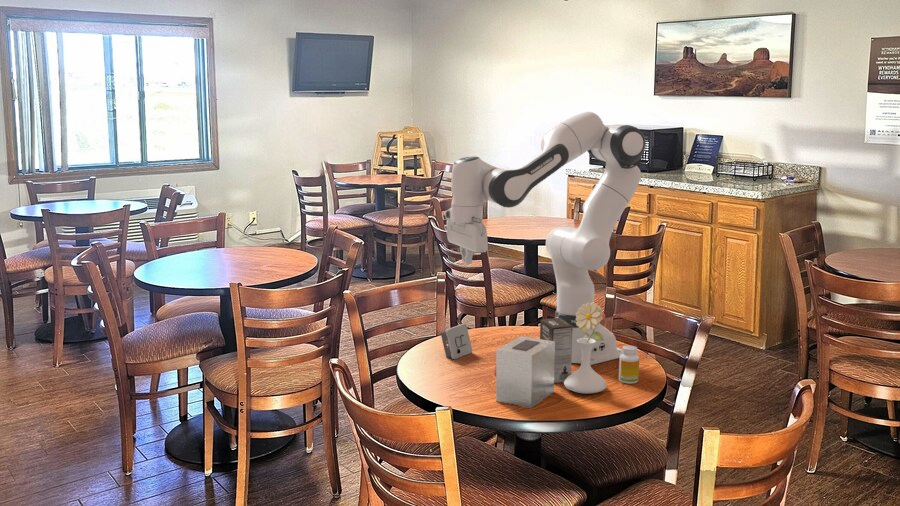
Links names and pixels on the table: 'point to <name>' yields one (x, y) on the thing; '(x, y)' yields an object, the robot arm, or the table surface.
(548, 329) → the coffee box
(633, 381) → the supplement bottle
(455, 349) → the electrical switch
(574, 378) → the flower in vase
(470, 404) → the table surface
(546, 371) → the box
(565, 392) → the table surface
